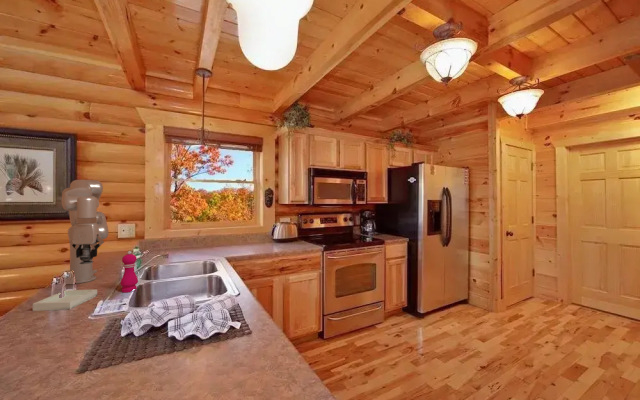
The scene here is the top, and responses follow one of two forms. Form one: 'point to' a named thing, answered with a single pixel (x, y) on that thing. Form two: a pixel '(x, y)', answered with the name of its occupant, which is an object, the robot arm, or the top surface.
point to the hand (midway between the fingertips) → (86, 256)
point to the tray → (65, 300)
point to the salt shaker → (86, 254)
